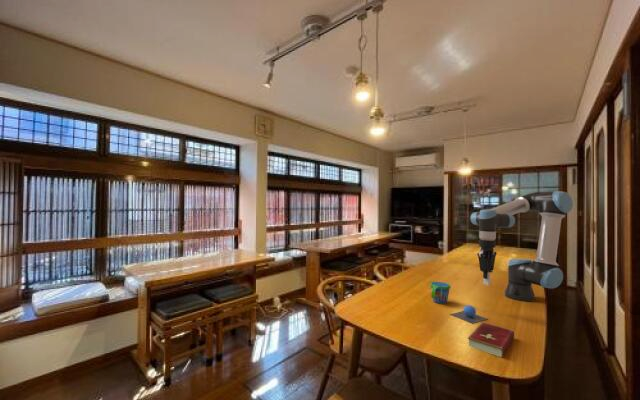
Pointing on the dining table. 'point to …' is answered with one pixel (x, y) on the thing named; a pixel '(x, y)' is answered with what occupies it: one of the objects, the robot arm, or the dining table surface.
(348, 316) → the dining table surface
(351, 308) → the dining table surface
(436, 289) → the snack cup
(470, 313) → the ball
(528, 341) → the dining table surface
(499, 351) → the hardcover book
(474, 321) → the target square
